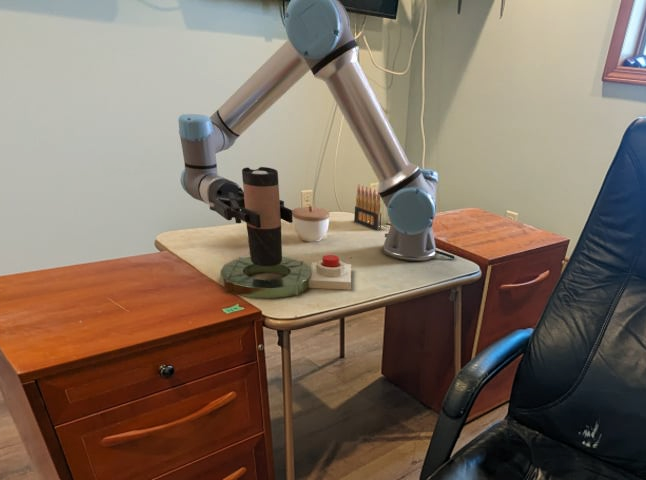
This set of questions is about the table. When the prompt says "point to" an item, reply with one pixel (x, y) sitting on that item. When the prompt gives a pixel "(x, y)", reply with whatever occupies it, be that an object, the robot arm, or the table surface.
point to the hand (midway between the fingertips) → (275, 218)
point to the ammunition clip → (368, 208)
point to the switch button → (330, 261)
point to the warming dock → (241, 284)
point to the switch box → (330, 276)
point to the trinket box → (310, 223)
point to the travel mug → (263, 215)
